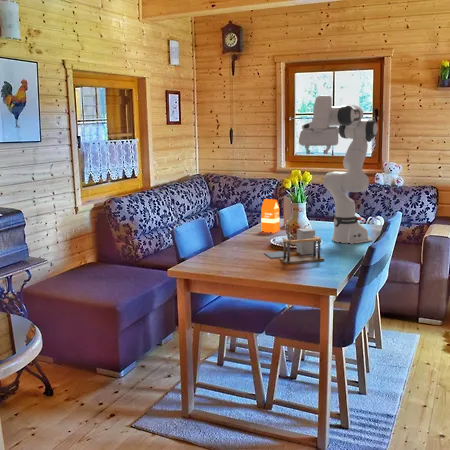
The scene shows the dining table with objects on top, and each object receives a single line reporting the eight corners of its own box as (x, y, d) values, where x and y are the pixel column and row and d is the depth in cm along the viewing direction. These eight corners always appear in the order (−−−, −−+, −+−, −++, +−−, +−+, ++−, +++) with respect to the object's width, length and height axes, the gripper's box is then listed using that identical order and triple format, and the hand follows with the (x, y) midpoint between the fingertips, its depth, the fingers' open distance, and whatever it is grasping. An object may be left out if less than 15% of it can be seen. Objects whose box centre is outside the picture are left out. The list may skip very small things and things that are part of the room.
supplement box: (302, 255, 283) (302, 231, 281) (296, 252, 290) (296, 228, 288) (315, 254, 285) (315, 230, 283) (309, 250, 292) (309, 227, 290)
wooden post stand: (315, 255, 278) (315, 235, 276) (320, 258, 272) (320, 238, 270) (283, 258, 273) (283, 238, 272) (287, 261, 268) (287, 241, 266)
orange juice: (266, 229, 350) (266, 198, 346) (279, 230, 345) (279, 198, 341) (261, 231, 343) (261, 199, 339) (274, 232, 339) (274, 200, 335)
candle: (304, 227, 354) (304, 196, 350) (283, 226, 357) (283, 196, 353) (305, 225, 361) (305, 194, 357) (284, 224, 364) (284, 194, 360)
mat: (282, 252, 290) (282, 251, 290) (289, 257, 280) (289, 255, 280) (264, 254, 287) (264, 252, 287) (271, 258, 278) (271, 257, 278)
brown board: (317, 256, 279) (317, 254, 279) (324, 260, 271) (324, 258, 271) (279, 260, 274) (279, 257, 274) (286, 264, 266) (286, 262, 266)
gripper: (342, 128, 272) (338, 155, 271) (304, 129, 283) (301, 155, 282) (337, 124, 267) (333, 152, 266) (299, 125, 278) (295, 152, 277)
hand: (316, 154), depth 274 cm, fingers open, 8 cm apart
